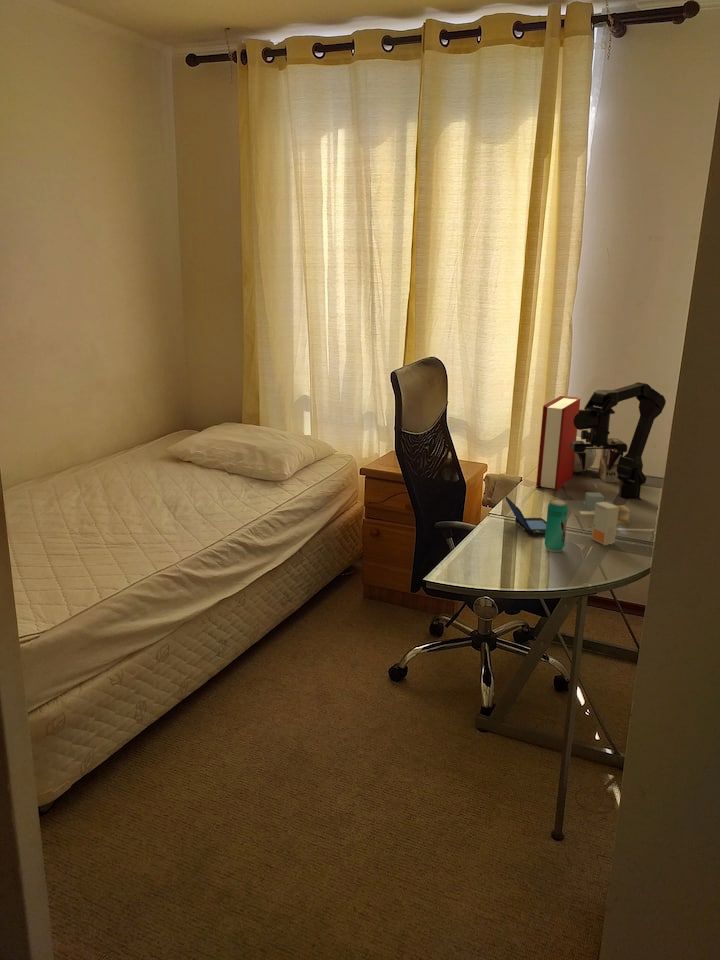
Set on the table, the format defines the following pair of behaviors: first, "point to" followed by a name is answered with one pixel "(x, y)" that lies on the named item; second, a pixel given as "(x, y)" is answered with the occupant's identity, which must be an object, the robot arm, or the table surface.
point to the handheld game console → (528, 521)
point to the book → (557, 442)
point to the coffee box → (604, 461)
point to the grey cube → (592, 500)
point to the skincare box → (605, 523)
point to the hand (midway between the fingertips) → (596, 470)
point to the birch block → (623, 514)
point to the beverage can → (556, 525)
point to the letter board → (580, 508)
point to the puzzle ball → (589, 457)
